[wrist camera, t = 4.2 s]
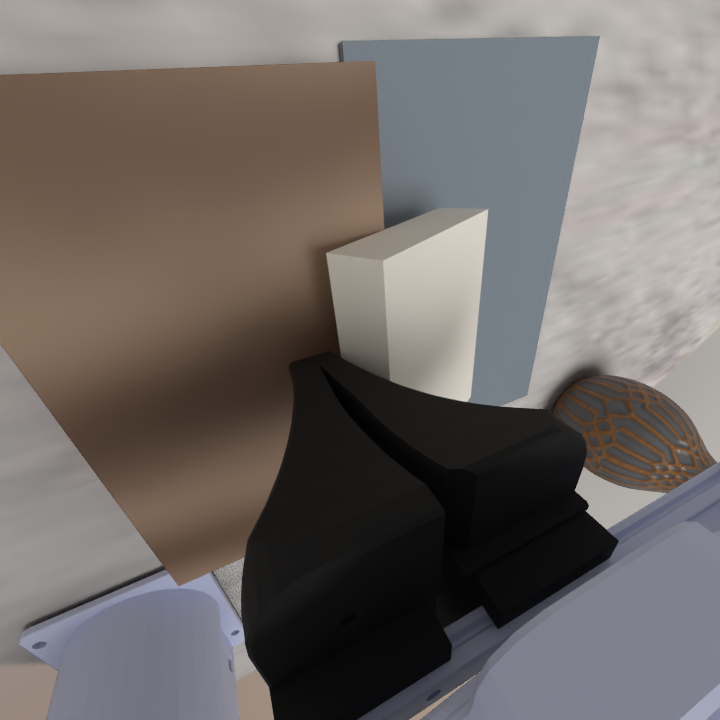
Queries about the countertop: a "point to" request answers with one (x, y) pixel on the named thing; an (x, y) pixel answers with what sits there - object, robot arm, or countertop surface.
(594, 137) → the countertop surface
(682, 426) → the vase
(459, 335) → the tile
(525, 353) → the mat
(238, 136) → the block
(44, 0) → the countertop surface
